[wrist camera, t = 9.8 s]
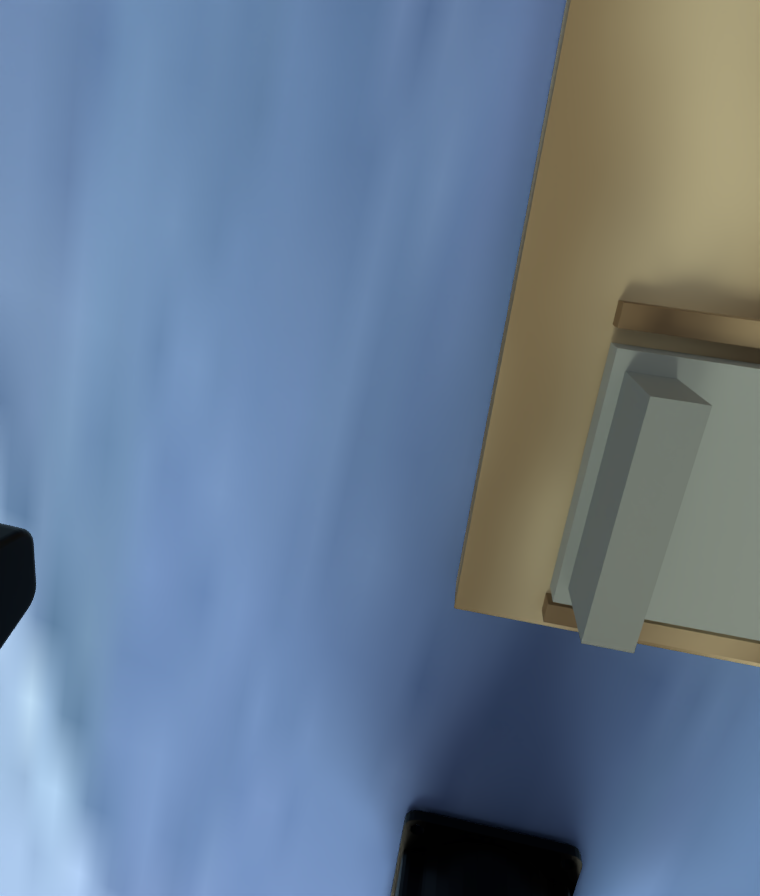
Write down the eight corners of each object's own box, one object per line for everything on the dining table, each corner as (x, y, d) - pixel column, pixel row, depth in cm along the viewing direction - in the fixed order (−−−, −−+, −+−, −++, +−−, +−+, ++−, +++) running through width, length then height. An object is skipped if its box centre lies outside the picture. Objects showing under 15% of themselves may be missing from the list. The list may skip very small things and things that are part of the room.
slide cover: (549, 586, 18) (563, 657, 15) (610, 342, 15) (641, 369, 12) (808, 634, 17) (877, 720, 14) (915, 386, 15) (1024, 427, 12)
